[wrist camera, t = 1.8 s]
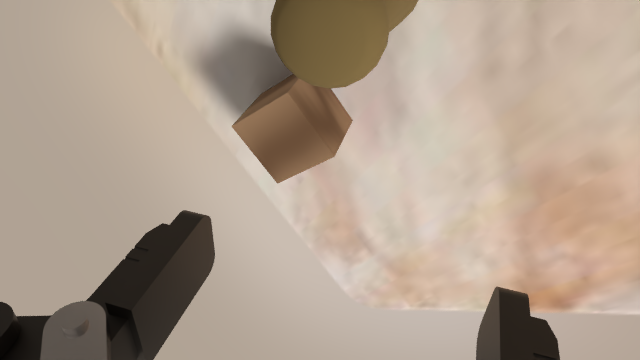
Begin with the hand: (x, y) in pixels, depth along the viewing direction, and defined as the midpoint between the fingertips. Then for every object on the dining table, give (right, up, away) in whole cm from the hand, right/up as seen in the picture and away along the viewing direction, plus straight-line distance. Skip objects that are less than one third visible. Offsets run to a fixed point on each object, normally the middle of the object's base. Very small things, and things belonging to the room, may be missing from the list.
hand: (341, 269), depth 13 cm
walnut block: (-2, +8, +21) cm, 23 cm away
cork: (+3, +14, +15) cm, 21 cm away
